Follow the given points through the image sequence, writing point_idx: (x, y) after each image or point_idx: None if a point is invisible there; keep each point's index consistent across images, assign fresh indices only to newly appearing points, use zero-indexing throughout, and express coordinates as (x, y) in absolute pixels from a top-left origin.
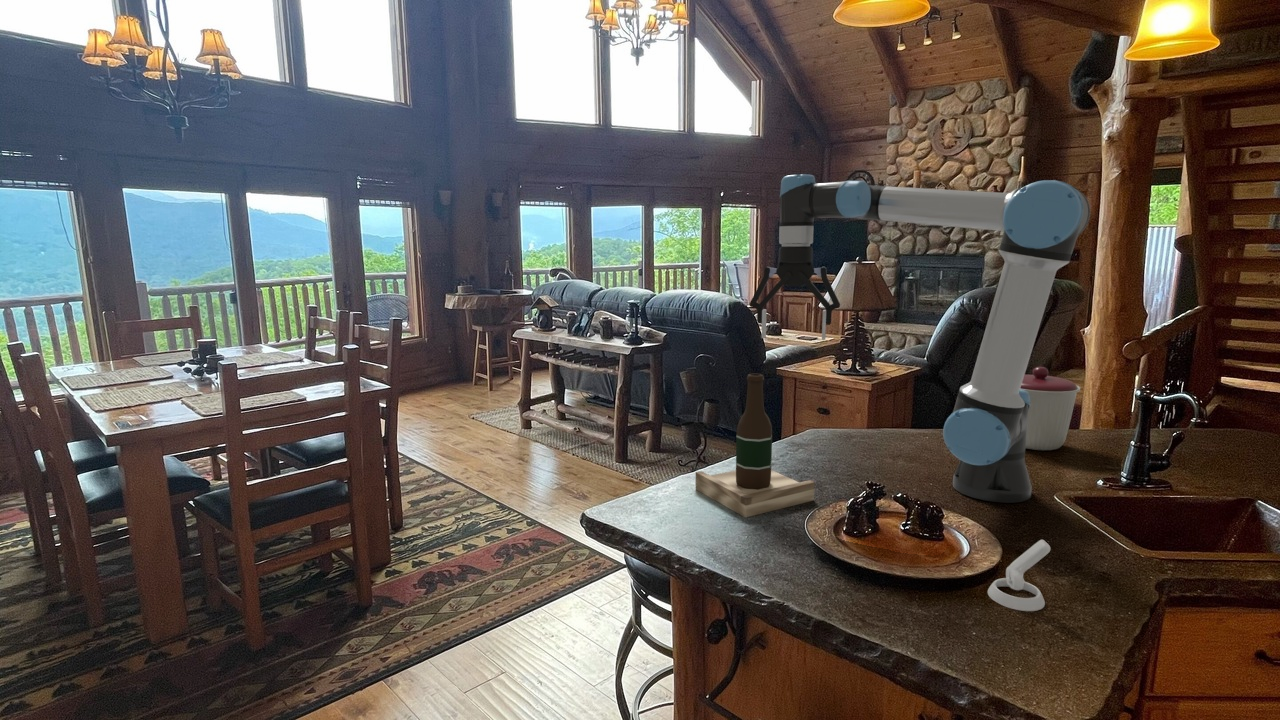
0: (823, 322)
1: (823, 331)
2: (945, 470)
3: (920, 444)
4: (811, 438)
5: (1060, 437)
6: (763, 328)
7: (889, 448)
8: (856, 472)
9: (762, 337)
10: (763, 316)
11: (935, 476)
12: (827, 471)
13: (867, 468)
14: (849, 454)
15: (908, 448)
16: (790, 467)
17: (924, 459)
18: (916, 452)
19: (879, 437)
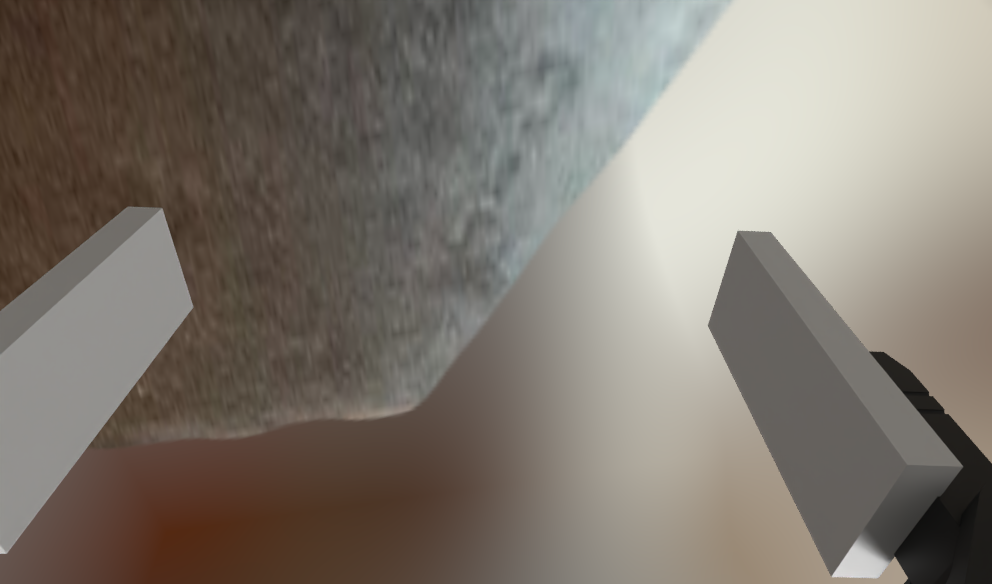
0: (29, 313)
1: (96, 248)
2: (14, 121)
3: None
4: (434, 335)
5: None
6: (794, 288)
7: (213, 289)
8: (265, 39)
9: (762, 235)
10: (876, 389)
11: (24, 53)
12: (357, 29)
13: (239, 90)
14: (312, 216)
15: None
16: (481, 46)
17: (99, 212)
18: None
19: (256, 371)
